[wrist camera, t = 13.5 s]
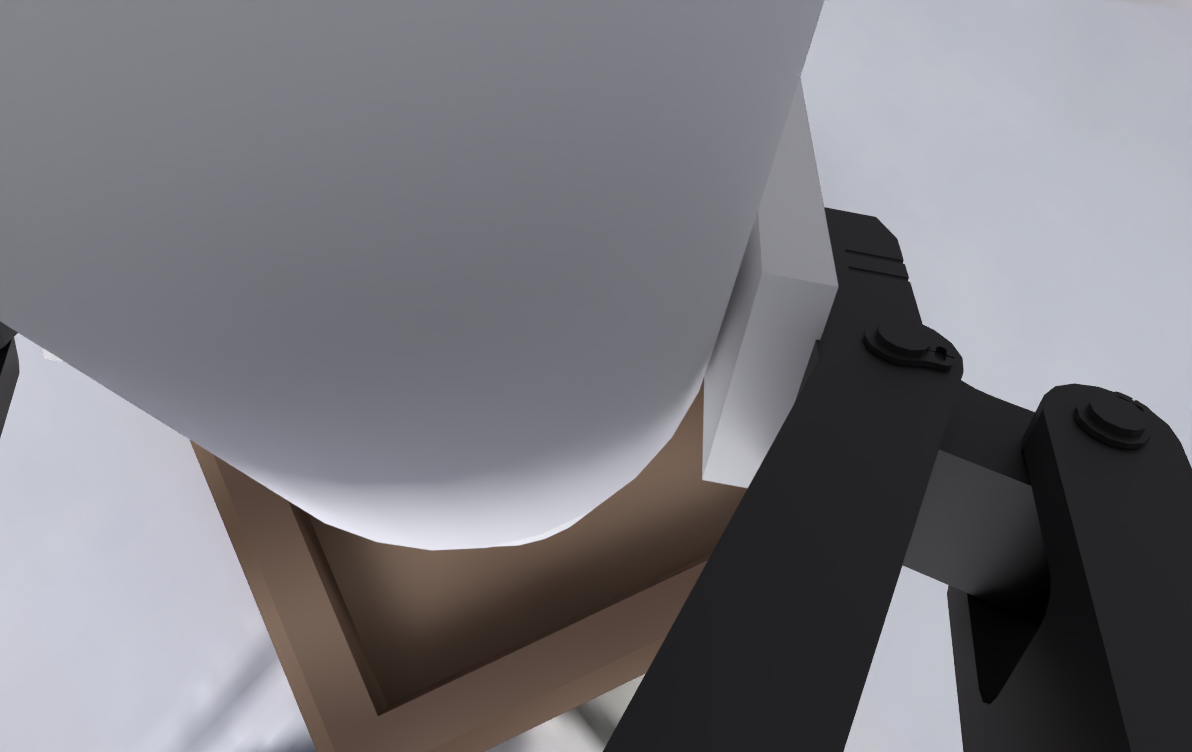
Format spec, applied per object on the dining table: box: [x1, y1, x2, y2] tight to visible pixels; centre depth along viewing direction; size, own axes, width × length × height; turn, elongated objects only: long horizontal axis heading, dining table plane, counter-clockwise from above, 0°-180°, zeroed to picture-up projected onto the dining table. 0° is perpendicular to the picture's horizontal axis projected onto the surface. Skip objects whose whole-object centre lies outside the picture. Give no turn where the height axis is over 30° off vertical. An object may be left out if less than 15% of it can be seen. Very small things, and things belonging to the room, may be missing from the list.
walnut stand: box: [190, 378, 748, 752], centre depth 27 cm, size 15×15×3 cm
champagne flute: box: [0, 0, 824, 550], centre depth 14 cm, size 7×7×24 cm
